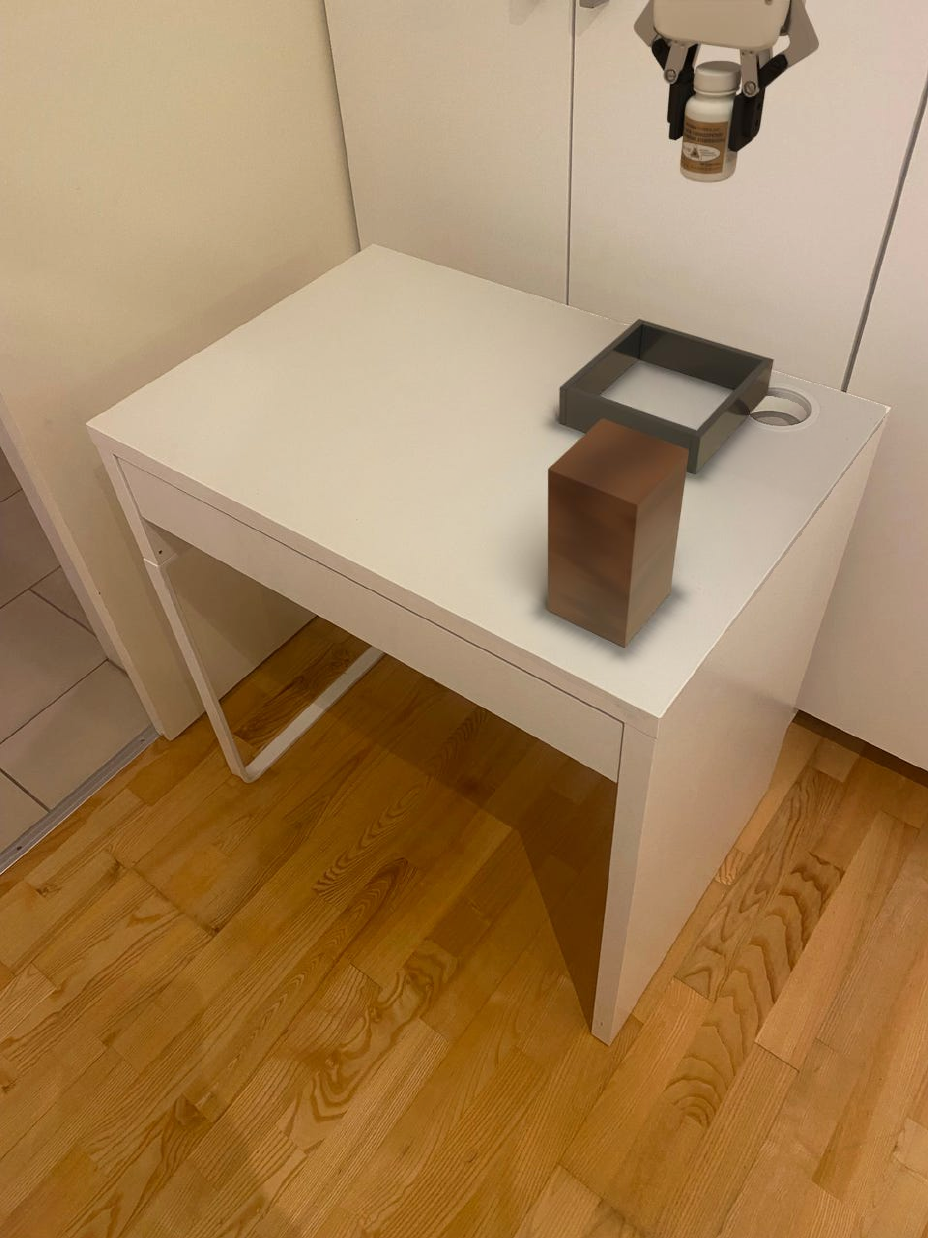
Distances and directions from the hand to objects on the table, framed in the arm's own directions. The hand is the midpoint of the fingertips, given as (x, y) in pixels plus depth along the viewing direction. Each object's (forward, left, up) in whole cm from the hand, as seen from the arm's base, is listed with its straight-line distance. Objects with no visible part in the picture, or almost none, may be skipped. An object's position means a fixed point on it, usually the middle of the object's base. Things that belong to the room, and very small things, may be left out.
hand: (710, 137), depth 75 cm
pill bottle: (0, 0, -3) cm, 3 cm away
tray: (+1, +1, -25) cm, 25 cm away
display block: (+2, +28, -25) cm, 37 cm away
